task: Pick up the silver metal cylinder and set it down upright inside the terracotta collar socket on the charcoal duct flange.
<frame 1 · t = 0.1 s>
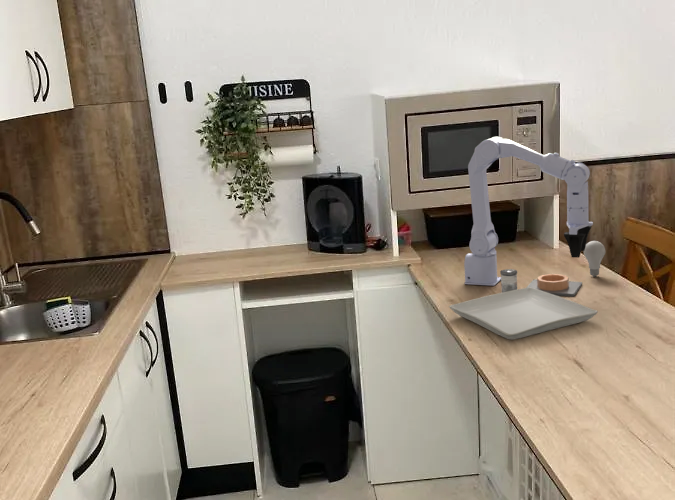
hand: (578, 253, 206), 10 cm above the countertop, fingers open, 7 cm apart
lightbulb: (594, 277, 218), on the countertop
silver metal cylinder: (509, 294, 208), on the countertop
square plate: (521, 321, 187), on the countertop
duct flange: (553, 288, 209), on the countertop
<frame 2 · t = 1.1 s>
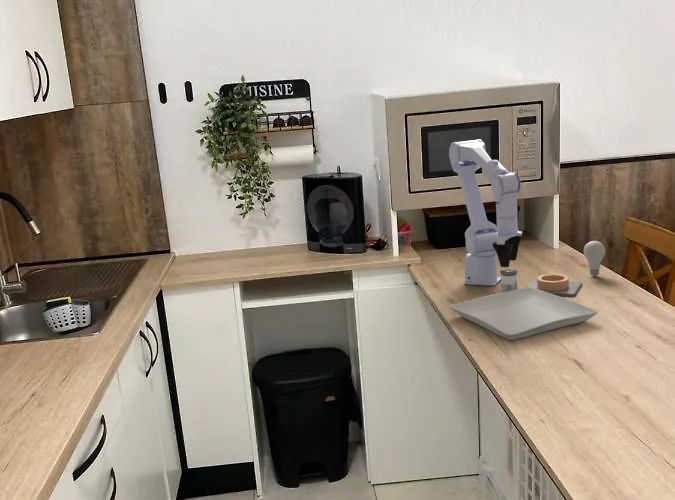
hand: (508, 263, 206), 9 cm above the countertop, fingers open, 7 cm apart
nothing on the countertop moved.
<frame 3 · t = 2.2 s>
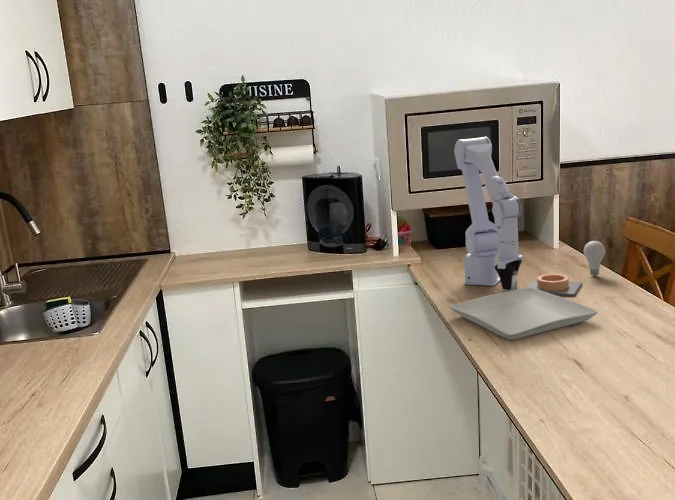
hand: (509, 286, 207), 2 cm above the countertop, fingers closed on silver metal cylinder, 4 cm apart
silver metal cylinder: (509, 294, 208), on the countertop, touching gripper
everything else where it was.
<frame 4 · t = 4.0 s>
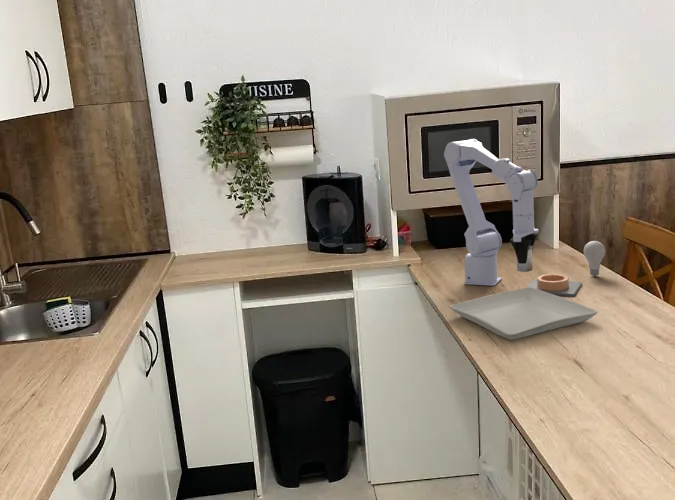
hand: (524, 261, 206), 9 cm above the countertop, fingers closed on silver metal cylinder, 4 cm apart
silver metal cylinder: (524, 269, 207), point 7 cm above the countertop, touching gripper
everything else where it was.
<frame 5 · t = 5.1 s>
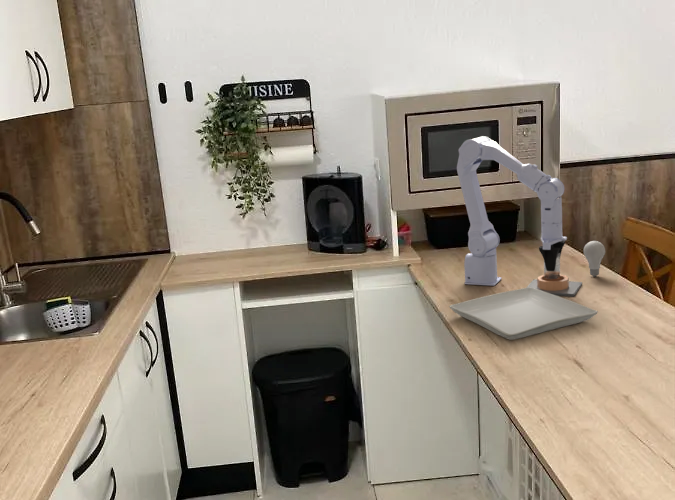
hand: (552, 268, 208), 6 cm above the countertop, fingers closed on silver metal cylinder, 4 cm apart
silver metal cylinder: (552, 277, 209), point 4 cm above the countertop, touching gripper
everything else where it was.
when the fingers open (5 cm above the countertop, at t = 5.8 s): silver metal cylinder drops 1 cm, resting on duct flange.
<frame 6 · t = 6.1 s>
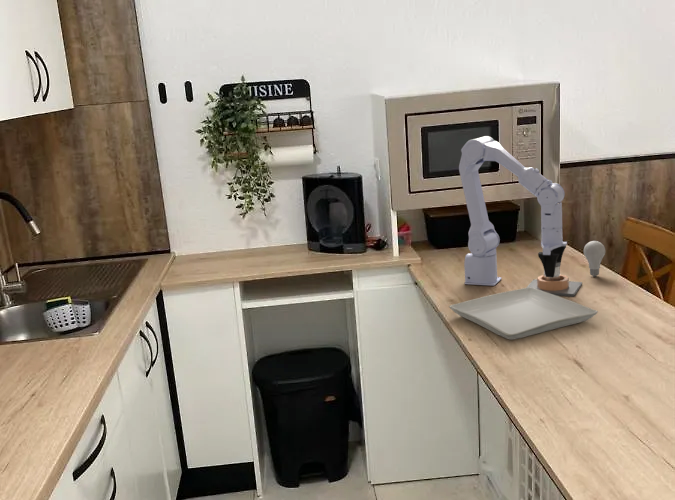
hand: (552, 273, 208), 5 cm above the countertop, fingers open, 7 cm apart
silver metal cylinder: (552, 286, 209), point 1 cm above the countertop, touching duct flange
everything else where it was.
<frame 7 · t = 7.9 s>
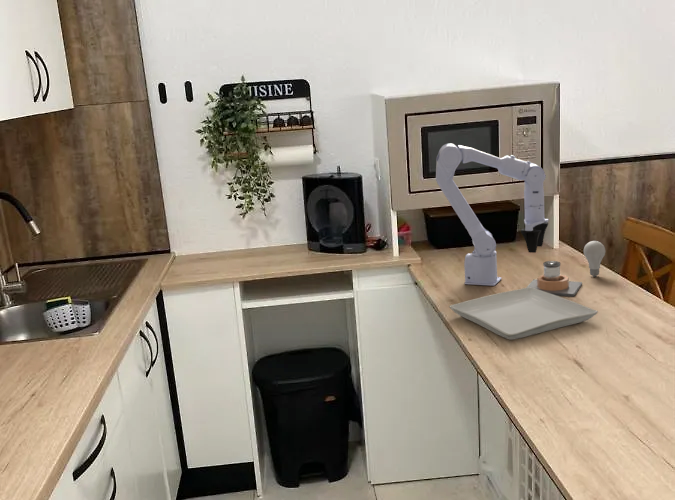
hand: (535, 249, 218), 9 cm above the countertop, fingers open, 7 cm apart
nothing on the countertop moved.
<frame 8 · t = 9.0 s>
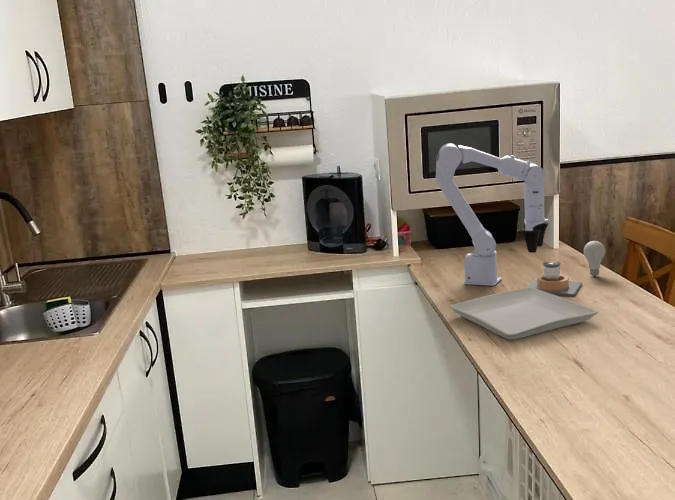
hand: (535, 249, 218), 9 cm above the countertop, fingers open, 7 cm apart
nothing on the countertop moved.
at the end: silver metal cylinder 0.2 cm off-centre on the duct flange, point 0.8 cm above the duct flange's base; silver metal cylinder tilted 0°; the gripper is holding nothing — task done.
